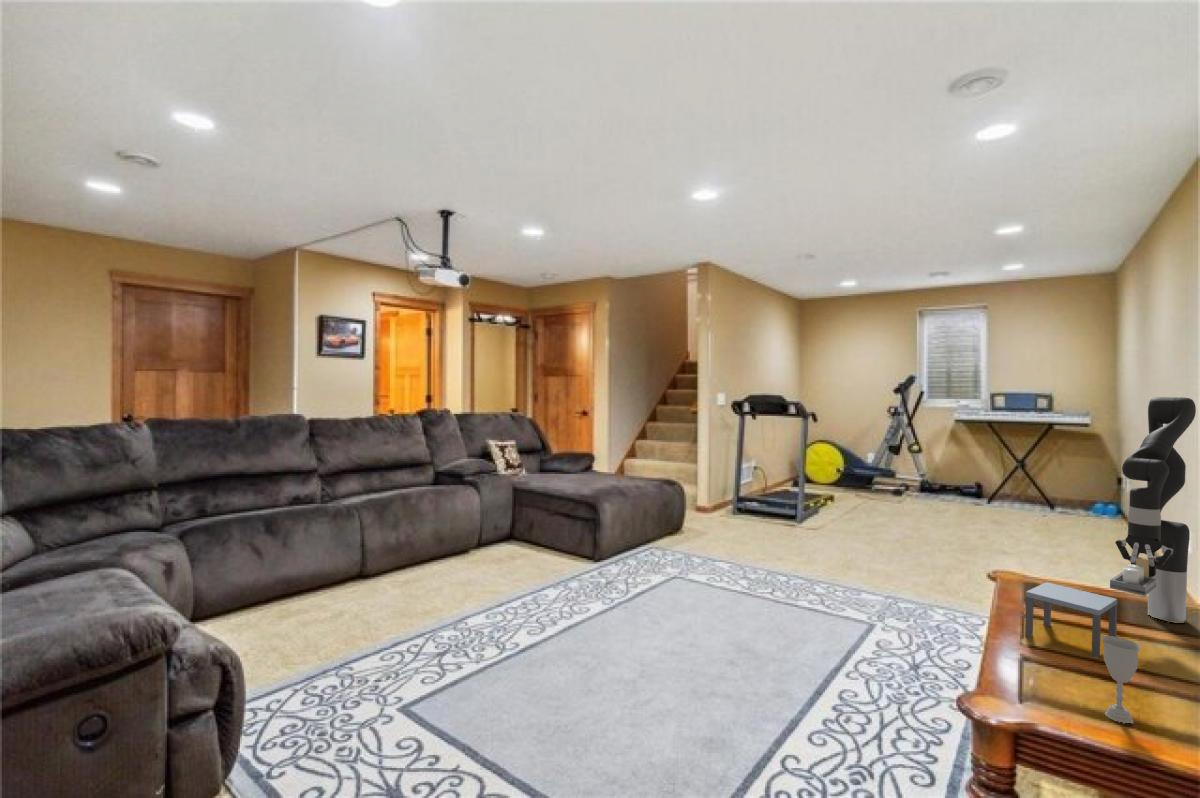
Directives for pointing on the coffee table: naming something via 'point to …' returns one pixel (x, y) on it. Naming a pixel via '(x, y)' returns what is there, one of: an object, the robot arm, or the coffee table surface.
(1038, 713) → the coffee table surface
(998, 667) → the coffee table surface
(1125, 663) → the chalice
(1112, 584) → the tray
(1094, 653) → the grey side table
